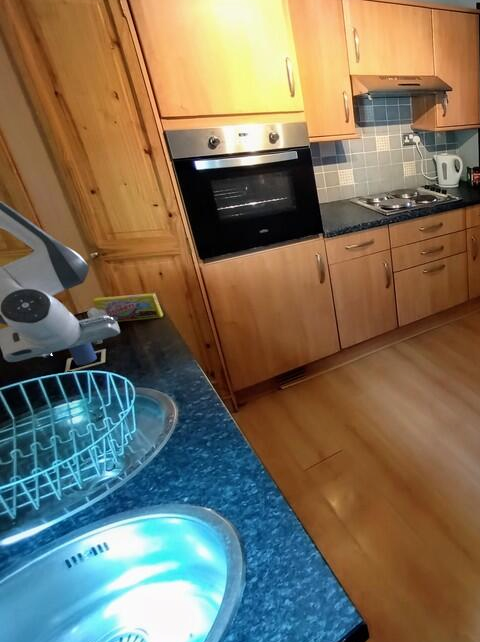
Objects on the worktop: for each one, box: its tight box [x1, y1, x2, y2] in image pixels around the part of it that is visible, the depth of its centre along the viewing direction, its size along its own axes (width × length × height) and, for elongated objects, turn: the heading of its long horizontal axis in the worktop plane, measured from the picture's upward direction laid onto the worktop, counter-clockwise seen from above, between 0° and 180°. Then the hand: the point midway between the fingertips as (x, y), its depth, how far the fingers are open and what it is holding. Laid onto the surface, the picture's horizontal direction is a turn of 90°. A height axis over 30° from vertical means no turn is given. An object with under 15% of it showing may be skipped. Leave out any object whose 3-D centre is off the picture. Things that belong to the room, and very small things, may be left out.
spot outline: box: [64, 348, 107, 373], centre depth 122 cm, size 8×8×1 cm
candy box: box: [92, 292, 164, 323], centre depth 141 cm, size 16×2×8 cm, turn 104°
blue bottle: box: [67, 342, 98, 367], centre depth 120 cm, size 4×4×12 cm
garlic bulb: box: [86, 307, 109, 319], centre depth 140 cm, size 6×6×5 cm
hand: (73, 347), depth 114 cm, fingers open, 8 cm apart
